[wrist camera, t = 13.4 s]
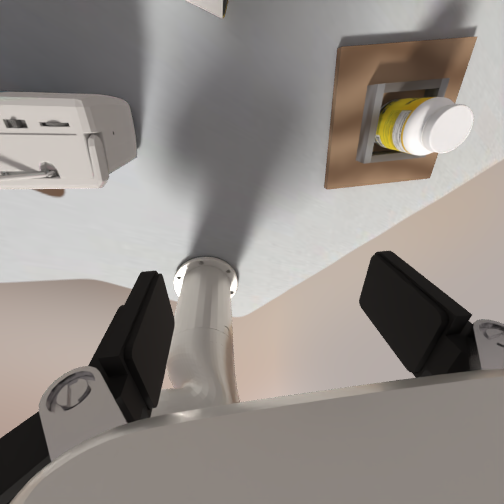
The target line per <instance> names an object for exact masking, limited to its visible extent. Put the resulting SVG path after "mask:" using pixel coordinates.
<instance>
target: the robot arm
mask: <svg viewBox="0 0 504 504" xmlns="http://www.w3.org/2000/svg"><path fill="white" fill-rule="evenodd" d="M237 287H238V279H237V275H236V272H235V271H234V269H233V268H232V267H231V266H230V265H229V264H228V263H226V262H225V261H223V260H220V259H218V258H214V257H198V258H194V259H191V260H189V261H187V262H185V263H184V264H183V265H182V266H181V267H180V268H179V269H178V270H177V272H176V275H175V278H174V288H175V291H176V293H177V294H178V296H179V298H178V302H177V307H176V312H175V316H173V312H172V309H171V305H170V301H169V298H168V294H167V290H166V286H165V283H164V279H163V276H162V274H158V273H157V271H146V272H141V273H140V275H139V277H138V279H137V281H136V283H135V285H134V287H133V289H132V291H131V293H130V295H129V297H128V299H127V301H126V303H125V305H122V306H120V307H119V309H118V310H117V312H116V314H115V316H114V318H113V320H112V322H111V324H110V326H109V327H108V329H107V331H106V333H105V335H104V337H103V339H102V341H101V343H100V345H99V346H98V348H97V350H96V352H95V354H94V356H93V358H92V360H91V362H90V364H89V365H88V366H85V367H80V368H76V369H73V370H71V371H69V372H67V373H65V374H64V375H63V376H61V377H60V378H58V379H57V380H56V381H54V382H53V383H52V384H51V385H50V386H49V388H48V389H47V390H46V391H45V393H44V394H43V396H42V398H41V401H40V403H39V411H38V412H37V413H36V414H34V415H33V416H31V417H30V418H29V419H27V420H26V421H24V422H23V423H21V424H20V425H19V426H17V427H16V428H14V429H13V430H12V431H10V432H9V433H7V434H6V435H5V436H3V437H2V438H0V504H504V324H502V323H499V322H496V321H492V320H485V319H481V320H477V321H476V322H474V323H473V324H472V323H470V322H469V321H468V320H469V319H470V317H471V316H472V314H471V313H469V312H468V311H467V310H466V309H464V308H463V307H462V306H460V305H459V304H458V303H457V302H455V301H454V300H453V299H451V298H450V297H449V296H448V295H447V294H445V293H444V292H443V291H441V290H440V289H439V288H438V287H436V286H435V285H434V284H432V283H431V282H430V281H429V280H427V279H426V278H425V277H424V276H422V275H421V274H420V273H418V272H417V271H416V270H415V269H413V268H412V267H411V266H410V265H408V264H407V263H406V262H405V261H403V260H402V259H401V258H399V257H398V256H397V255H396V254H394V253H393V252H391V251H382V252H376V253H375V255H373V256H372V258H371V260H370V264H369V267H368V271H367V275H366V278H365V281H364V285H363V289H362V292H361V296H360V300H359V303H360V306H361V308H362V309H363V311H364V312H365V313H366V315H367V316H368V317H369V319H370V320H371V322H372V323H373V324H374V326H375V327H376V328H377V330H378V331H379V332H380V334H381V335H382V336H383V338H384V339H385V340H386V342H387V343H388V344H389V346H390V347H391V349H392V350H393V351H394V353H395V354H396V355H397V357H398V358H399V359H400V361H401V362H402V364H403V365H404V366H405V368H406V369H407V370H408V371H409V372H412V373H413V374H414V376H415V377H416V378H411V379H404V380H396V381H389V382H382V383H374V384H367V385H359V386H352V387H345V388H338V389H331V390H324V391H316V392H309V393H303V394H295V395H288V396H282V397H275V398H268V399H261V400H254V401H247V402H240V400H239V395H238V390H237V384H236V376H235V367H234V366H235V365H234V351H233V331H232V310H231V298H232V297H233V296H234V295H235V293H236V291H237ZM166 368H167V373H168V376H169V378H170V381H171V383H172V385H173V387H174V388H175V389H161V387H162V383H163V379H164V374H165V369H166Z"/></svg>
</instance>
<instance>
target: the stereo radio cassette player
mask: <svg viewBox="0 0 504 504" xmlns="http://www.w3.org/2000/svg"><path fill="white" fill-rule="evenodd" d="M135 158H137V145H136V136H135V129H134V123H133V119H132V114H131V109H130V106H129V104H128V102H126V101H125V100H123V99H120V98H117V97H113V96H108V95H100V94H74V93H43V92H25V91H0V189H80V188H102V187H104V185H105V184H106V183H107V181H108V179H109V174H110V173H112V172H114V171H115V170H117V169H118V168H120V167H122V166H123V165H125V164H127V163H128V162H130V161H132V160H133V159H135Z"/></svg>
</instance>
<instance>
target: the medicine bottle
mask: <svg viewBox="0 0 504 504" xmlns="http://www.w3.org/2000/svg"><path fill="white" fill-rule="evenodd" d="M186 1H188V2H190V3H192V4H194V5H196V6H198V7H199V8H201V9H203V10H205V11H207V12H209V13H211V14H213V15H215V16H217V17H219V18H222V19H223V18H224V17H225V13H226V8H227V4H228V0H186Z"/></svg>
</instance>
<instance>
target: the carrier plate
mask: <svg viewBox="0 0 504 504" xmlns="http://www.w3.org/2000/svg"><path fill="white" fill-rule="evenodd" d="M476 39H477V37H464V38H451V39H438V40H425V41H411V42H398V43H385V44H371V45H358V46H345V47H340V48H338V49H337V58H336V69H335V79H334V90H333V100H332V111H331V121H330V132H329V142H328V153H327V163H326V174H325V184H324V188H326V189H336V188H345V187H354V186H363V185H372V184H381V183H390V182H400V181H409V180H418V179H427V178H430V176H431V173H432V170H433V167H434V164H435V161H436V158H437V155H438V153H436V152H433V153H430V154H427V155H422V156H418V155H412V154H408V153H404V152H400V151H397V150H392V149H388V148H384V147H381V146H379V145H377V144H376V143H375V142H374V141H375V136H376V131H377V126H378V120H379V115H380V110H381V107H382V106H383V105H385V104H386V103H388V102H389V101H392V100H395V99H406V98H427V97H445V98H448V99H450V100H452V101H453V102H454V103H455V102H456V99H457V96H458V93H459V90H460V87H461V84H462V81H463V78H464V75H465V72H466V69H467V66H468V63H469V60H470V57H471V54H472V51H473V48H474V45H475V42H476Z"/></svg>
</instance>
